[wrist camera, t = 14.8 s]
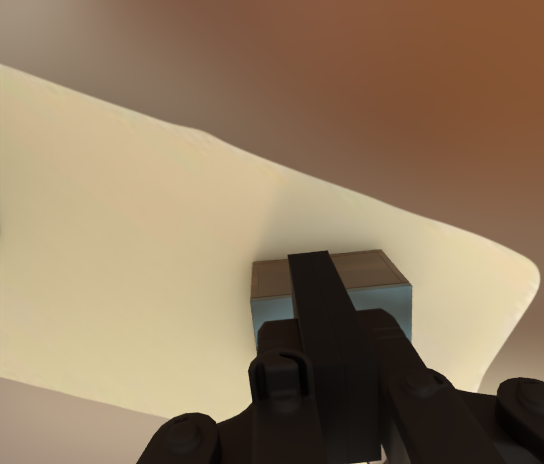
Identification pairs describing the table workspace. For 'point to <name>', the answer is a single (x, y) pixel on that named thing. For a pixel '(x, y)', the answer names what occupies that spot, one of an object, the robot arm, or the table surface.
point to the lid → (384, 296)
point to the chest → (350, 267)
